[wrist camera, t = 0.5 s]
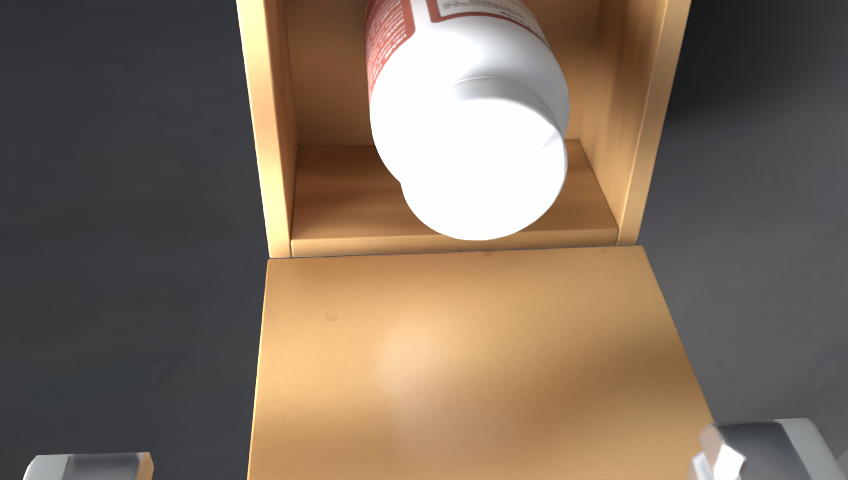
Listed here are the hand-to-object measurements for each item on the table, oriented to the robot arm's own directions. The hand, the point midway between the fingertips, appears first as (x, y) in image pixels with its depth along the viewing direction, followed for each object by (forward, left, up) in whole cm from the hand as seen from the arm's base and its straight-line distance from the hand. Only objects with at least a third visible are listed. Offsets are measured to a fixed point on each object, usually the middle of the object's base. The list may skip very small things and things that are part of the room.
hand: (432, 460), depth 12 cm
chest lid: (+9, +2, -8) cm, 12 cm away
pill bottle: (+2, +3, -22) cm, 22 cm away
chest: (+2, +2, -23) cm, 23 cm away
